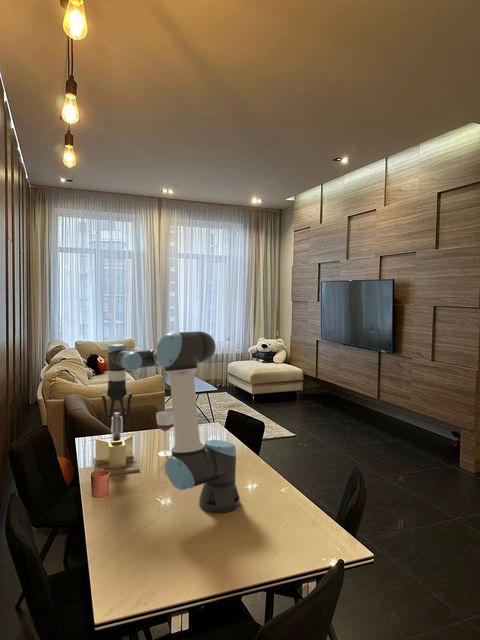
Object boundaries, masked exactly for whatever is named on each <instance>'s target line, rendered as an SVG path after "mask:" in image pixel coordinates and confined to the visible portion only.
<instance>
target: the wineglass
mask: <svg viewBox="0 0 480 640" xmlns="http://www.w3.org/2000/svg"><path fill="white" fill-rule="evenodd" d="M155 414H156V415H155V418H156V424H157V427H158V429H159V430H161V431H163V436H164V437H163V438H164V439H163V441H164V442H163V450H161V451H159V453H158V452H157V453H158V455H159V457H163V456H164V457H169V456H170V457H171V456H172V451H170V450H167V449H166V448H167V443H166V442H167V441H166V440H167V438H166V437H167V431H169V430H170V429H172V427H174V421H173V411H170V410H169V411H168V410H165V411H164V410H163V411H161V410H160V411H156V413H155ZM158 455H157V456H158Z"/></svg>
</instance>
